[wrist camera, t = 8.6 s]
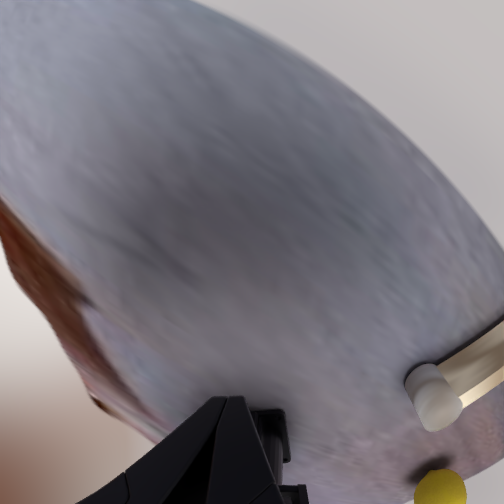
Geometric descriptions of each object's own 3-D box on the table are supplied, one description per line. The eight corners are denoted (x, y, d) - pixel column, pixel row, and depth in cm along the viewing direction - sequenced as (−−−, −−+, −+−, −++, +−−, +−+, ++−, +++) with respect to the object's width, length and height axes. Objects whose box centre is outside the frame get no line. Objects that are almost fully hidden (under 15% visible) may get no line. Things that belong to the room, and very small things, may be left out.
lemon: (459, 460, 22) (482, 509, 14) (422, 488, 23) (438, 538, 16) (438, 450, 22) (463, 506, 14) (397, 480, 23) (413, 537, 15)
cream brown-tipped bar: (409, 400, 20) (427, 437, 16) (400, 376, 19) (420, 413, 15) (513, 332, 18) (542, 356, 14) (511, 304, 17) (543, 326, 13)
